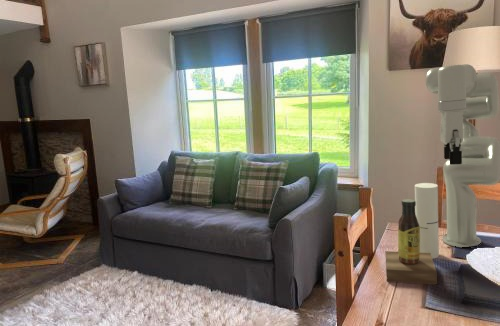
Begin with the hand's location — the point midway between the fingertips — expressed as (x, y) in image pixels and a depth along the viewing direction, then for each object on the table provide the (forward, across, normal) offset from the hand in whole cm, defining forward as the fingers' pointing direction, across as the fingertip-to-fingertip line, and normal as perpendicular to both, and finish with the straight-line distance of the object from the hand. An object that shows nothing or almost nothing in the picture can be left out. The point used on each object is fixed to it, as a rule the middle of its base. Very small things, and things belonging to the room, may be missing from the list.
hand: (452, 161), depth 117 cm
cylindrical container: (+34, -7, -7) cm, 36 cm away
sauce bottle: (+31, +8, -14) cm, 34 cm away
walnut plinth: (+34, +8, -14) cm, 38 cm away
